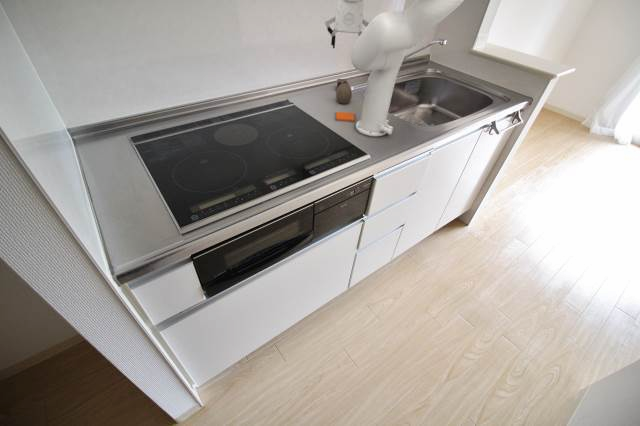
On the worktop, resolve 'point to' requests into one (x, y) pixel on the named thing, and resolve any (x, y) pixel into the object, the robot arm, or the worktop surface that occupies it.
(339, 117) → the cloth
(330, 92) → the worktop surface
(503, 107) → the worktop surface
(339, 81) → the walnut block
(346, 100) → the vase
